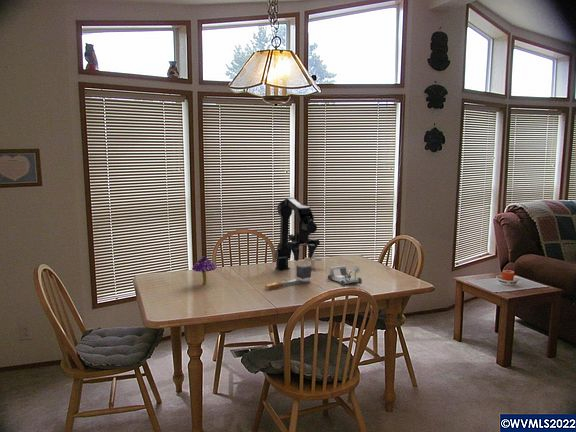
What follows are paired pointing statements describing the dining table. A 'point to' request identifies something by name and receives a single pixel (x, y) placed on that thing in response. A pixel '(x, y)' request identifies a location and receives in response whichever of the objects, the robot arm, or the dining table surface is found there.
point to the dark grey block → (303, 271)
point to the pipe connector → (312, 260)
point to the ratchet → (286, 283)
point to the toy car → (343, 275)
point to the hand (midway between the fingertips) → (303, 259)
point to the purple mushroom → (204, 267)
